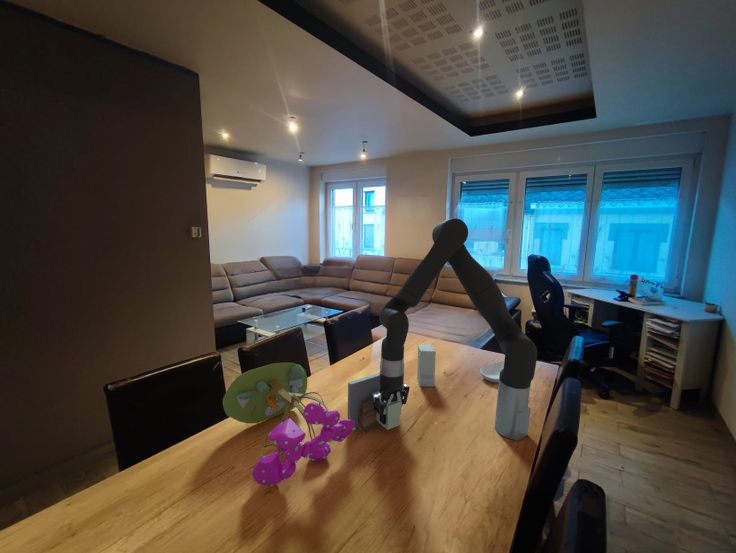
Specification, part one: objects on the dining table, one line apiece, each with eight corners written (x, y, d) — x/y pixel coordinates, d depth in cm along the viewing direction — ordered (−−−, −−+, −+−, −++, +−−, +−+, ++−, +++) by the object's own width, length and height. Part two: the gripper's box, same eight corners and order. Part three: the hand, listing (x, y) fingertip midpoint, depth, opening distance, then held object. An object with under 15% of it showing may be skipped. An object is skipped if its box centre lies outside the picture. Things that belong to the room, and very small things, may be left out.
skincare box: (434, 387, 133) (436, 351, 130) (418, 386, 133) (420, 351, 130) (431, 377, 141) (432, 344, 139) (416, 377, 141) (417, 343, 139)
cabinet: (399, 424, 103) (400, 401, 101) (387, 430, 100) (388, 406, 98) (382, 410, 110) (383, 389, 109) (370, 415, 107) (371, 393, 106)
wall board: (397, 410, 115) (398, 369, 113) (350, 430, 104) (350, 384, 101) (394, 408, 117) (395, 367, 114) (347, 427, 105) (348, 382, 103)
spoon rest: (496, 389, 133) (497, 372, 132) (473, 377, 143) (474, 362, 142) (529, 375, 146) (531, 361, 144) (506, 366, 155) (507, 352, 154)
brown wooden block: (397, 418, 111) (398, 392, 109) (364, 433, 103) (364, 405, 101) (390, 413, 114) (391, 388, 112) (357, 427, 106) (358, 399, 104)
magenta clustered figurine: (303, 331, 108) (358, 390, 80) (318, 394, 119) (370, 465, 92) (208, 372, 94) (236, 460, 66) (236, 439, 105) (269, 537, 78)
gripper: (380, 381, 93) (379, 434, 95) (417, 369, 101) (414, 418, 104) (366, 371, 99) (365, 421, 101) (401, 360, 107) (399, 407, 110)
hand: (390, 419), depth 102 cm, fingers closed on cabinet, 5 cm apart
